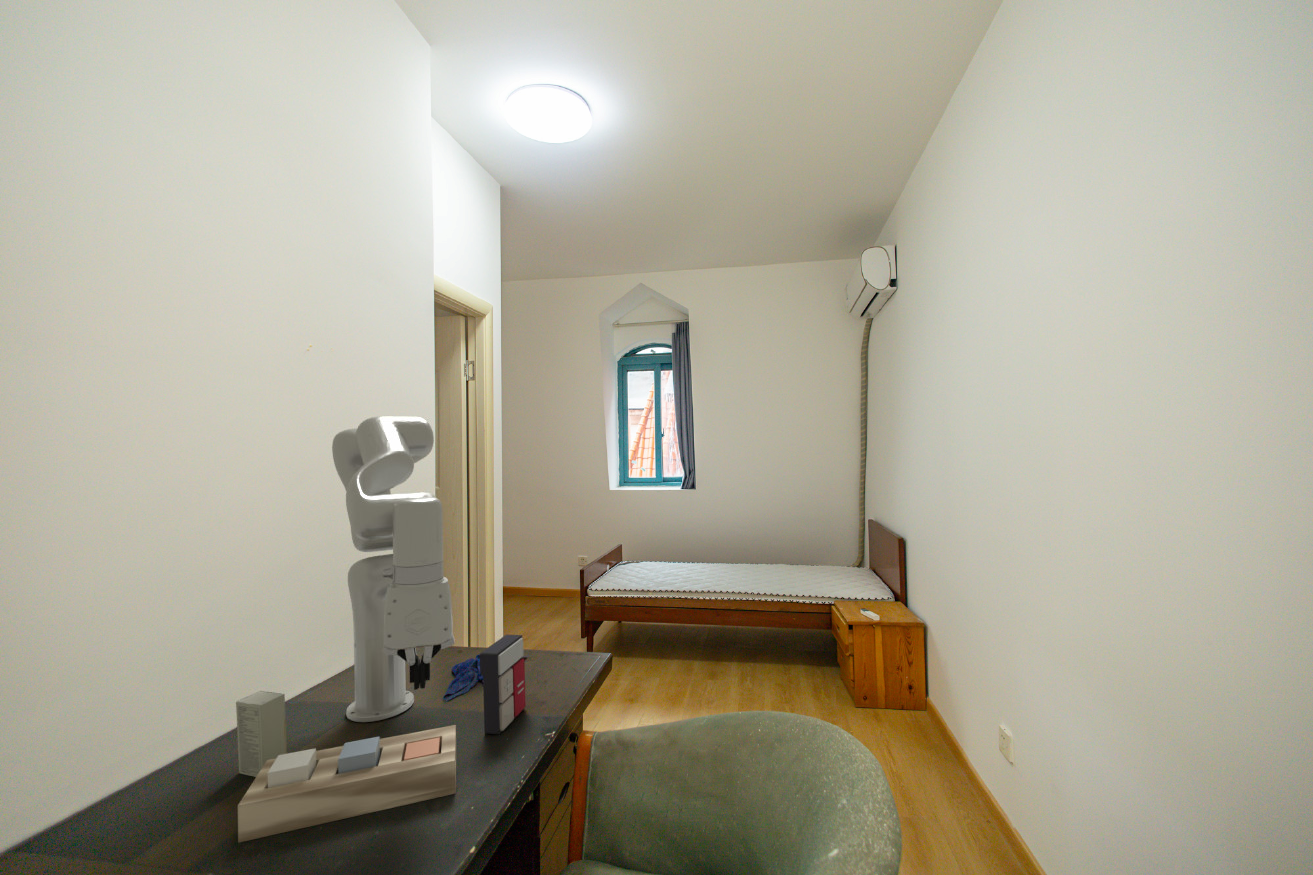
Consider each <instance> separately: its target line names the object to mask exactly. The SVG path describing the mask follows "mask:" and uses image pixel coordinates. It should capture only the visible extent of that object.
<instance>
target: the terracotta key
mask: <svg viewBox="0 0 1313 875" xmlns="http://www.w3.org/2000/svg"><path fill="white" fill-rule="evenodd" d="M435 754H440V737H439V738H434V739H429V740H424V741H418V742H413V743H408V744H407V747H406V752H405V757H404V761H405V760H410V759H415V758H420V757H425V756H430V755H435Z"/></svg>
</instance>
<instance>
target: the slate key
mask: <svg viewBox="0 0 1313 875" xmlns="http://www.w3.org/2000/svg"><path fill="white" fill-rule="evenodd" d="M380 739H381V736H374V737H370V738H364V739H359V740H353V741H348V742H344V744H343V745H342V746H343V749H342V751H341V754H340V756H339V758H338V774H341V773H346V772H351V771H356V770H361V769H366V768H371V767H375V766H377V765H378V761H379V758H380Z"/></svg>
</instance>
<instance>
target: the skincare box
mask: <svg viewBox="0 0 1313 875" xmlns="http://www.w3.org/2000/svg"><path fill="white" fill-rule="evenodd" d="M285 698H286V697H285V693H280V692H272V691H265V690H260V691H257V692H255V693H252V694H250V695H248V696H245V697H243V698H241V699H238V700H237V701H236V702H235V707H236V708H235V709H236V711H235V712H236V729H237V730H236V731H237V732H236V734H237V751H238V752H237V753H238V773H239V774H241V775H246V776H251V777H254V778H256V777H257V775H258V773H259V772H260V770H261V769H262V767H263V766H264V764H265V763H266V761H267V760H270V759H276V758H277V757H278V755H282V754H288V742H287V722H286V721H287V720H286V699H285Z"/></svg>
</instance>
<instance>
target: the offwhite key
mask: <svg viewBox="0 0 1313 875" xmlns="http://www.w3.org/2000/svg"><path fill="white" fill-rule="evenodd" d="M316 751H317V748H316V747H315V748H310V749H306V750H304V749H303V750H300V751H294V752H287V754H282V755H278V757H277V758H276V760H275V762H274V763H273V765H272V767H271V768H270V770H269V771H268V788H271V787H276V786H281V785H286V784H291V783H296V782H301V781H306V780H310V779H311V777H312V775H313V773H314V770H315V768H316Z"/></svg>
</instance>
